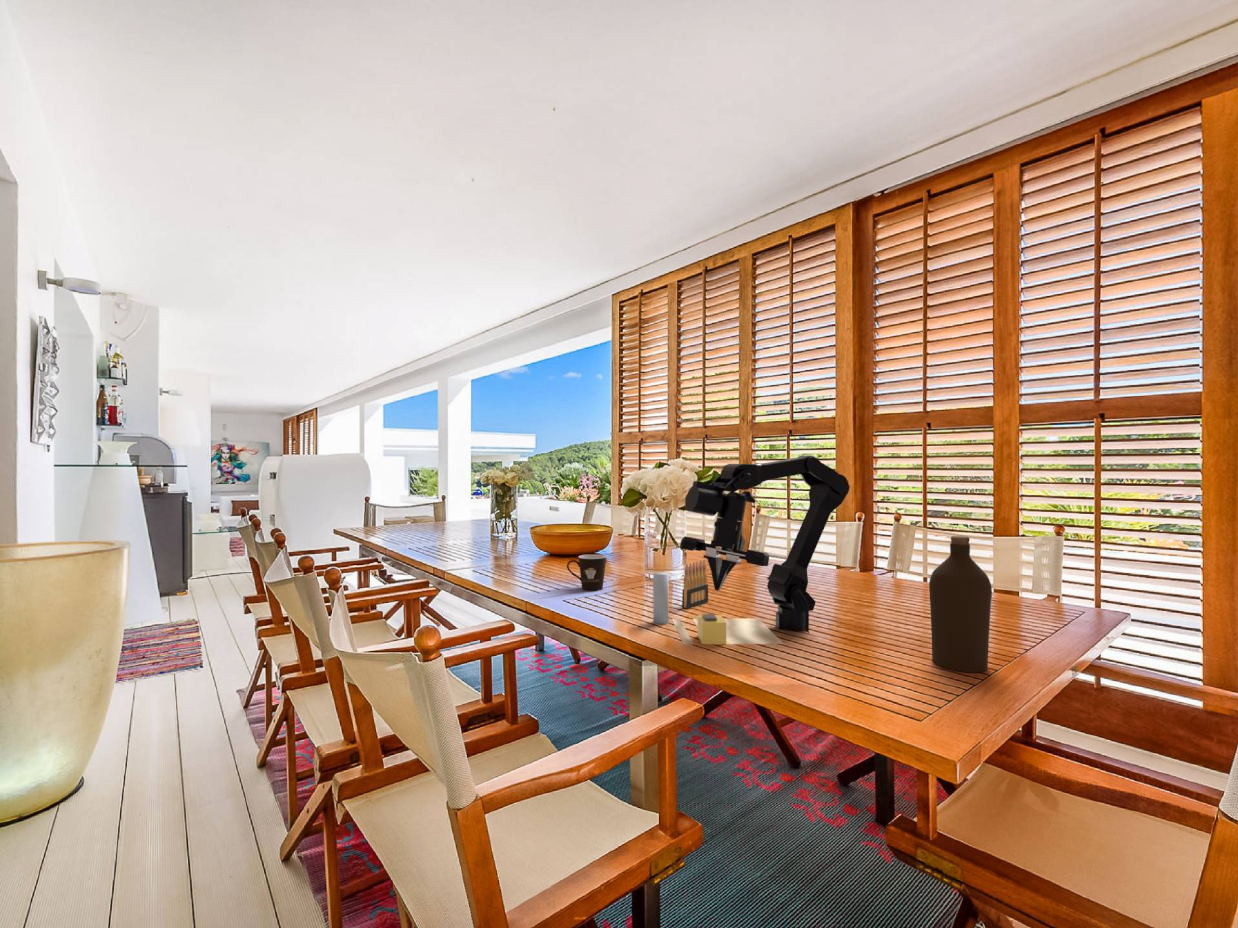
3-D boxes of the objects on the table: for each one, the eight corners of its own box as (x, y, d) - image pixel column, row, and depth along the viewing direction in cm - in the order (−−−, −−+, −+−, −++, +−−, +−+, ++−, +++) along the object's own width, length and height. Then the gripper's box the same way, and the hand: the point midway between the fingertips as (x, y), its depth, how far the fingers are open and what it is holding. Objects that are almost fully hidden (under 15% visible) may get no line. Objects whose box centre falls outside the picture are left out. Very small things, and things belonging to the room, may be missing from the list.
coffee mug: (611, 587, 184) (611, 556, 184) (595, 593, 177) (596, 559, 177) (581, 583, 190) (581, 552, 190) (565, 588, 183) (565, 556, 183)
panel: (757, 624, 143) (757, 618, 143) (783, 650, 123) (783, 643, 123) (671, 624, 142) (671, 618, 142) (683, 651, 122) (683, 644, 122)
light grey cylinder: (667, 626, 141) (668, 572, 141) (669, 630, 138) (670, 575, 137) (652, 626, 141) (652, 572, 141) (653, 630, 137) (653, 575, 137)
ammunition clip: (687, 609, 158) (687, 564, 158) (681, 608, 159) (682, 563, 159) (708, 602, 166) (708, 559, 166) (702, 601, 167) (703, 558, 167)
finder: (720, 635, 129) (720, 612, 129) (726, 644, 123) (726, 619, 123) (697, 635, 129) (697, 612, 129) (702, 644, 123) (702, 619, 123)
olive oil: (946, 673, 110) (947, 540, 110) (918, 655, 121) (919, 533, 121) (1004, 674, 110) (1004, 540, 110) (970, 655, 121) (971, 533, 120)
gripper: (779, 529, 133) (767, 598, 132) (700, 514, 141) (688, 579, 140) (769, 526, 123) (756, 601, 122) (685, 511, 131) (672, 580, 130)
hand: (717, 590), depth 128 cm, fingers closed
